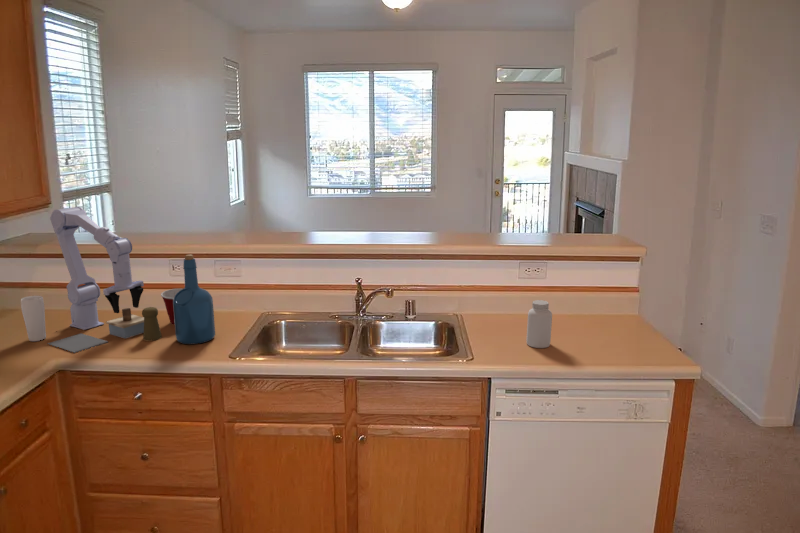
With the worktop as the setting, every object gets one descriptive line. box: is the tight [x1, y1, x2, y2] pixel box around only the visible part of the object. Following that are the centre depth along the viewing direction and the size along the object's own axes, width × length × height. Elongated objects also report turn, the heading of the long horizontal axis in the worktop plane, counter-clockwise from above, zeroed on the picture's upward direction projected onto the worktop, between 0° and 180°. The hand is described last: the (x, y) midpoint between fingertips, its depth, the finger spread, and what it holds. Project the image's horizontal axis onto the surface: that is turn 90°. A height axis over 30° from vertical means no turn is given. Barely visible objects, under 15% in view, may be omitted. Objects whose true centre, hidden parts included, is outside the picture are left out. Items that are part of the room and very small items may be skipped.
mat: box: [46, 332, 109, 354], centre depth 208 cm, size 16×12×1 cm
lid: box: [105, 307, 144, 328], centre depth 217 cm, size 10×10×5 cm
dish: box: [108, 322, 144, 339], centre depth 218 cm, size 9×9×4 cm
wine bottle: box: [173, 253, 216, 345], centre depth 209 cm, size 14×13×30 cm
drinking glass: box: [20, 295, 47, 342], centre depth 210 cm, size 7×7×15 cm
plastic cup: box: [160, 288, 183, 326], centre depth 228 cm, size 11×11×12 cm
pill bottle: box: [525, 299, 553, 349], centre depth 204 cm, size 8×8×15 cm
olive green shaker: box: [141, 306, 162, 342], centre depth 212 cm, size 6×6×11 cm
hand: (126, 310), depth 217 cm, fingers open, 7 cm apart
